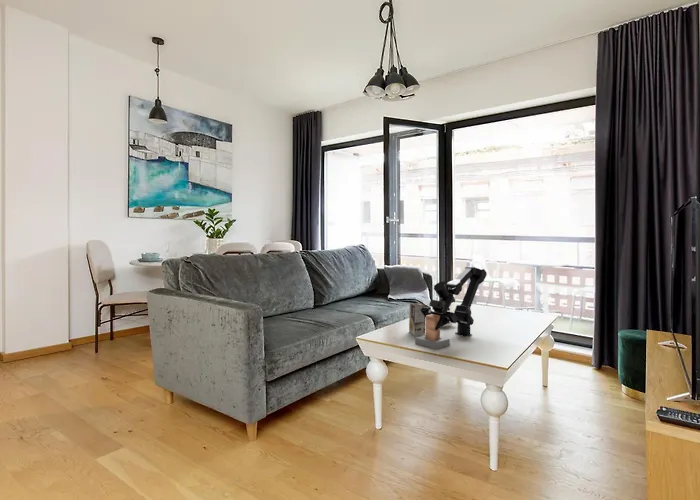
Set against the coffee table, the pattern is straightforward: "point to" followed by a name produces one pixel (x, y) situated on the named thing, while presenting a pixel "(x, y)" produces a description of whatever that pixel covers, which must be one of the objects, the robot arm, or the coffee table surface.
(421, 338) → the socket block
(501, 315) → the coffee table surface
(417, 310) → the coffee box
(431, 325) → the peg
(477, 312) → the coffee table surface
